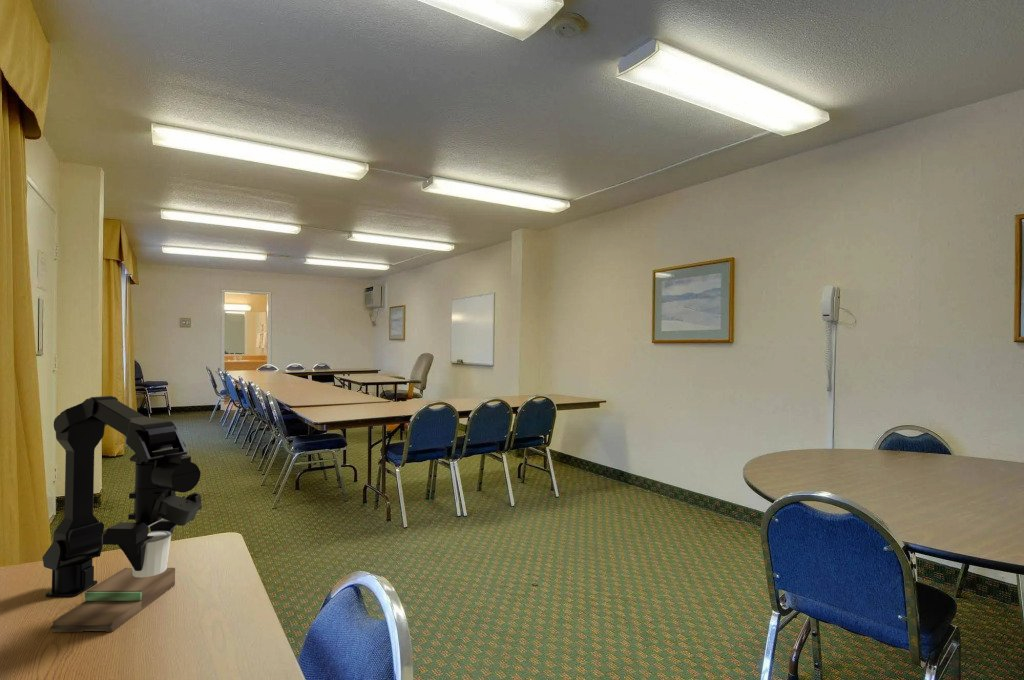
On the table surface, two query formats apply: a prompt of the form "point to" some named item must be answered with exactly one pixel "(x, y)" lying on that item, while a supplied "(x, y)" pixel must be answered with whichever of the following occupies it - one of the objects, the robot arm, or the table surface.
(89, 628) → the stepped riser
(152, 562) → the white tapered cup
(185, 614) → the table surface
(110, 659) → the table surface
